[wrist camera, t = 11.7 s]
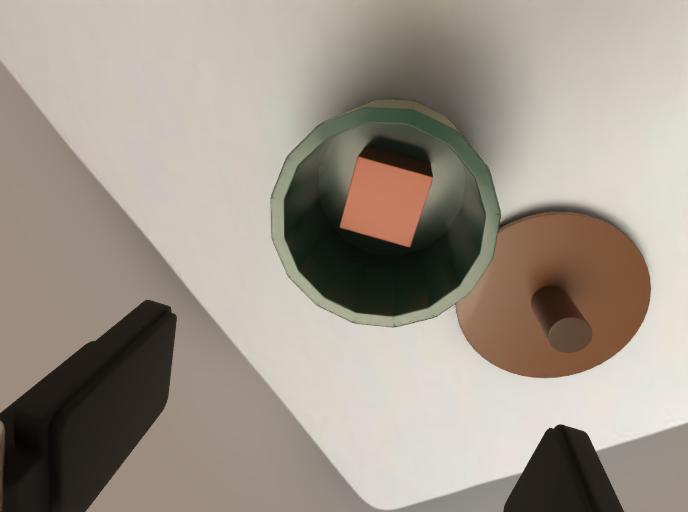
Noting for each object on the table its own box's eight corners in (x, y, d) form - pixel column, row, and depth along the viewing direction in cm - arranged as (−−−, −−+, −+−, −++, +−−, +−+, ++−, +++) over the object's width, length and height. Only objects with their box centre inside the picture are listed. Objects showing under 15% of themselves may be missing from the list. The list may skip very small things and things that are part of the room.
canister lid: (667, 216, 33) (721, 245, 27) (617, 378, 38) (653, 432, 32) (467, 202, 34) (477, 227, 29) (445, 359, 40) (450, 407, 34)
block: (430, 163, 33) (433, 177, 29) (410, 225, 35) (410, 248, 30) (365, 145, 33) (357, 156, 29) (349, 208, 35) (339, 227, 31)
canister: (486, 103, 32) (518, 113, 22) (463, 268, 36) (480, 337, 27) (310, 95, 33) (267, 102, 23) (309, 254, 38) (273, 315, 28)
